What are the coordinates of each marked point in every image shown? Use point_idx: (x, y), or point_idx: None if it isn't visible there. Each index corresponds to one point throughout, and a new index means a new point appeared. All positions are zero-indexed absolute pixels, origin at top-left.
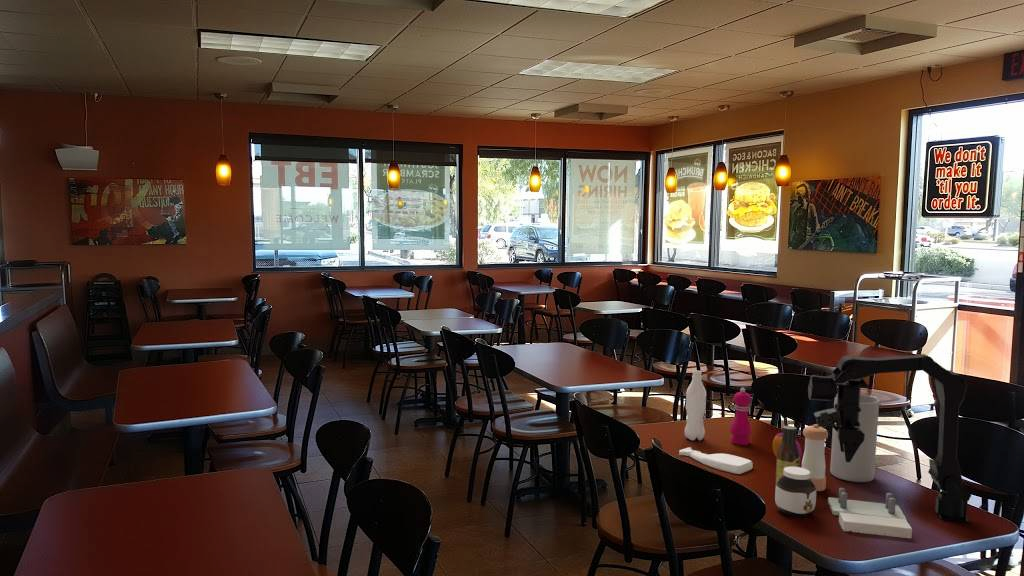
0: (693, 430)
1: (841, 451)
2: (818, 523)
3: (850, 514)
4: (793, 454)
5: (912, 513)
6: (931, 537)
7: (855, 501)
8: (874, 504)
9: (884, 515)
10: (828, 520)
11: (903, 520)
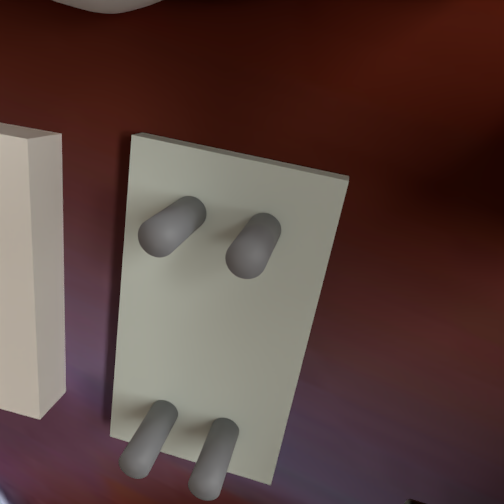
0: None
1: (407, 502)
2: (3, 4)
3: (15, 191)
4: None
5: (237, 498)
6: (15, 439)
7: (294, 316)
8: (264, 390)
9: (128, 369)
10: (60, 79)
11: (23, 405)
